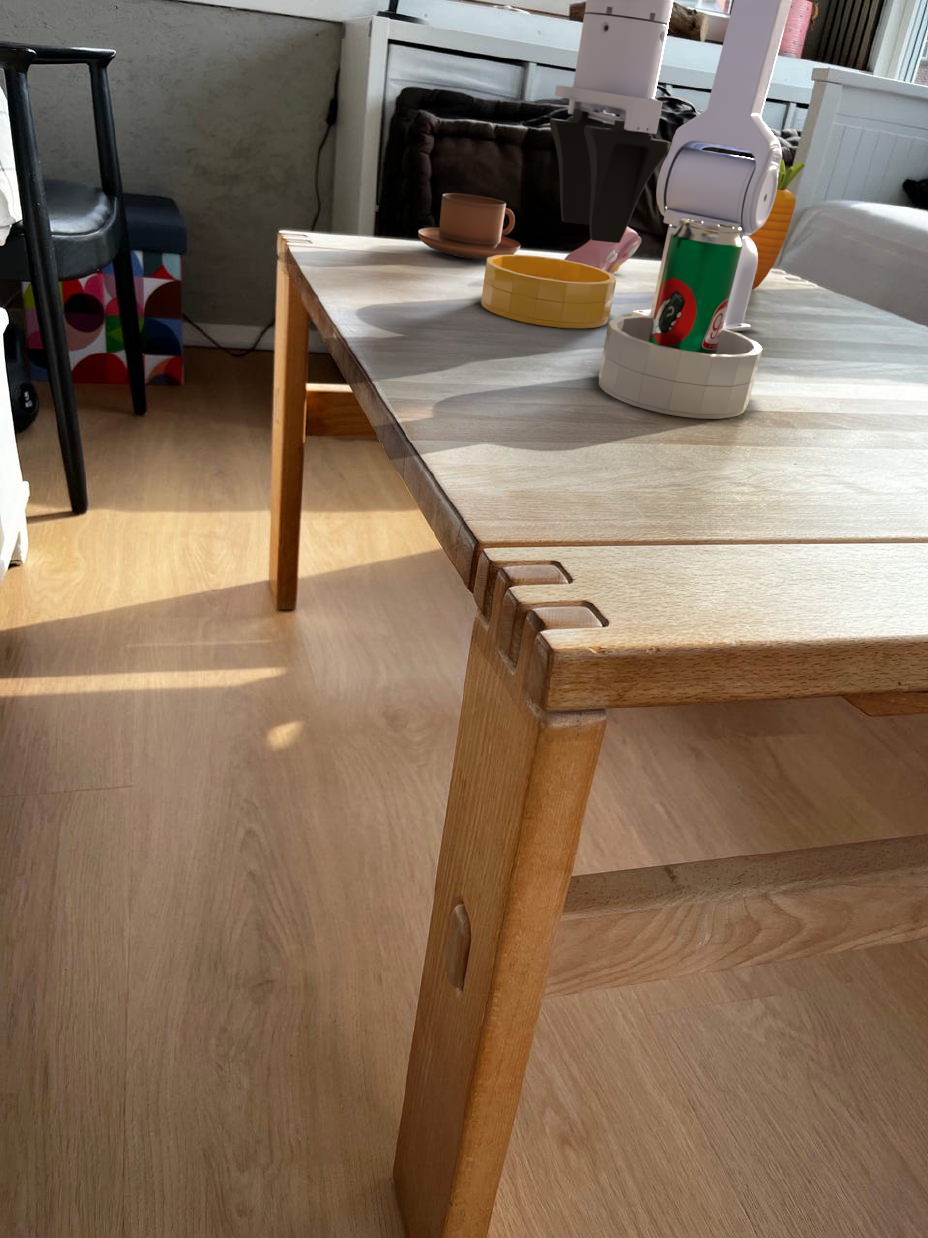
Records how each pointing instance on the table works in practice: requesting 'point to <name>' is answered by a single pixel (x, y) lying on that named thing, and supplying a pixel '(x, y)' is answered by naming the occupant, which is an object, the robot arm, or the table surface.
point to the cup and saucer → (471, 228)
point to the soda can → (696, 285)
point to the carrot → (775, 224)
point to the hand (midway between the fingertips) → (589, 231)
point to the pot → (677, 372)
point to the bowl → (547, 291)
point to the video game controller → (607, 252)
